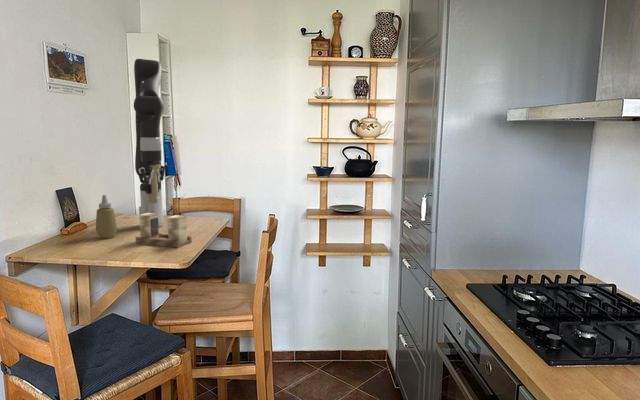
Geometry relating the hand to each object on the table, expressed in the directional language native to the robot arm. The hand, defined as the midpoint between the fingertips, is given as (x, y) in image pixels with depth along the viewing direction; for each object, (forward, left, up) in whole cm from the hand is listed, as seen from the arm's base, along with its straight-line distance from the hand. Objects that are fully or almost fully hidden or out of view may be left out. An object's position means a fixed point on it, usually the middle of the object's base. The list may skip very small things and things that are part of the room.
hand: (152, 192), depth 172 cm
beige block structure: (+2, +3, -21) cm, 21 cm away
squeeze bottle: (-25, +2, -21) cm, 33 cm away
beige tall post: (0, 0, -4) cm, 4 cm away
